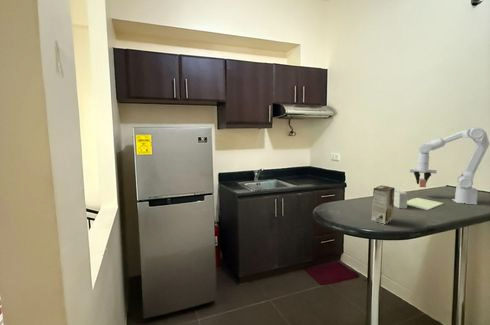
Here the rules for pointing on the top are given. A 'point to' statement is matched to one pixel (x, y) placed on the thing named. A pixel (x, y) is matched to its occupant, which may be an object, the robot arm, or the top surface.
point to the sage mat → (423, 203)
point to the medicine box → (400, 199)
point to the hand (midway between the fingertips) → (421, 184)
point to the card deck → (422, 182)
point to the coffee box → (383, 204)
